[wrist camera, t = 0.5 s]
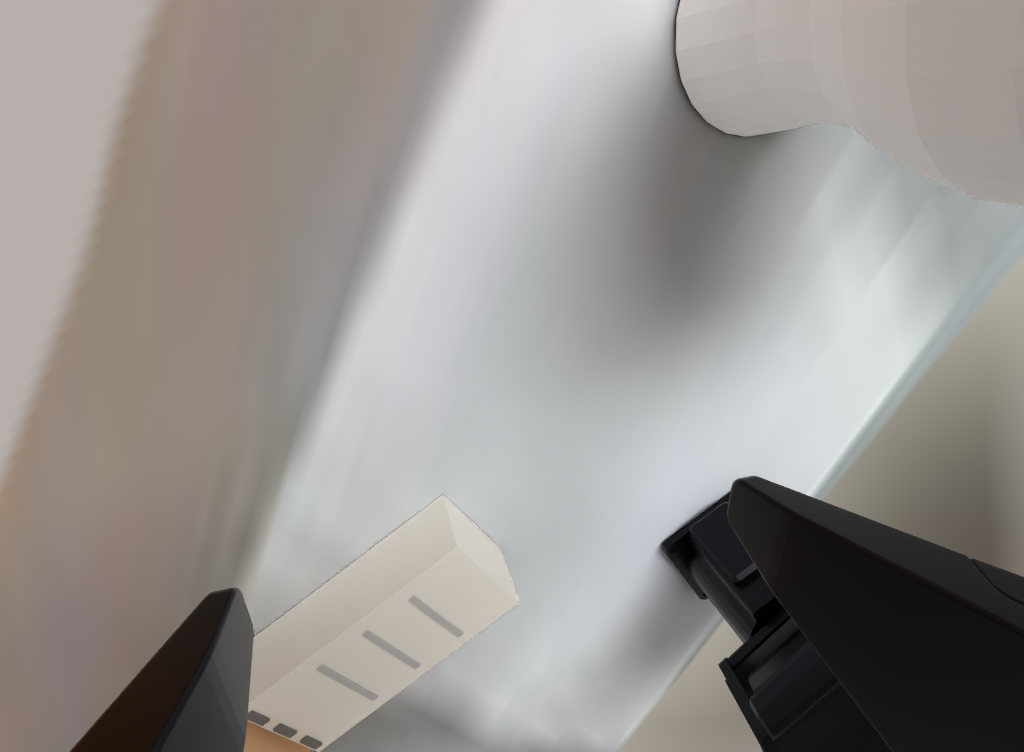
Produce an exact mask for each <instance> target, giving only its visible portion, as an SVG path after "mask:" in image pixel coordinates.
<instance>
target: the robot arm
mask: <svg viewBox="0 0 1024 752" xmlns="http://www.w3.org/2000/svg"><path fill="white" fill-rule="evenodd" d="M663 550H664V552H665V553H666V554H667V556H668V557H669V558H670V560H671V561H672V562H673V564H674V565H675V566H676V567H677V569H678V570H679V571H680V573H681V574H682V575H683V577H684V578H685V579H686V581H687V582H688V583H689V585H690V586H691V587H692V588H693V590H694V591H695V592H696V594H697V595H698V596H699V598H700V599H702V600H705V599H707V598H709V599H710V601H711V602H712V603H713V605H714V606H715V607H716V608H717V610H718V611H719V612H720V614H721V615H722V616H723V617H724V619H725V620H726V621H727V623H728V624H729V625H730V626H731V628H732V629H733V630H734V632H735V633H736V634H737V636H738V637H739V638H740V639H741V641H742V642H743V643H744V644H743V645H742V646H741V647H739V648H738V649H737V650H736V651H735V652H734V653H733V654H732V655H731V656H730V657H729V658H725V659H724V660H723V661H721V662H720V663H719V667H720V669H721V671H722V672H723V674H724V676H725V678H726V680H725V681H726V683H727V685H728V687H729V689H730V691H731V693H732V694H733V696H734V698H735V700H736V702H737V703H738V705H739V707H740V709H741V711H742V713H743V714H744V716H745V718H746V720H747V722H748V724H749V725H750V727H751V729H752V731H753V733H754V735H755V736H756V738H757V740H758V742H759V744H760V746H761V748H762V751H763V752H1024V577H1022V576H1019V575H1017V574H1014V573H1011V572H1008V571H1006V570H1003V569H1000V568H998V567H995V566H992V565H990V564H987V563H984V562H982V561H979V560H976V559H974V558H971V559H969V557H967V556H966V555H963V554H961V553H958V552H955V551H952V550H950V549H947V548H945V547H942V546H939V545H937V544H934V543H931V542H929V541H926V540H924V539H921V538H918V537H916V536H913V535H910V534H908V533H905V532H902V531H900V530H897V529H895V528H892V527H889V526H887V525H884V524H881V523H878V522H876V521H873V520H871V519H868V518H866V517H863V516H860V515H858V514H855V513H852V512H850V511H847V510H844V509H842V508H839V507H836V506H834V505H831V504H828V503H826V502H823V501H821V500H818V499H815V498H813V497H810V496H807V495H805V494H802V493H800V492H797V491H794V490H792V489H789V488H786V487H784V486H781V485H778V484H776V483H773V482H771V481H768V480H765V479H763V478H760V477H757V476H749V477H744V478H739V479H737V480H735V481H734V483H733V484H732V488H731V493H730V494H729V495H728V496H726V497H725V498H724V499H722V500H721V501H719V502H718V503H717V504H715V505H714V506H713V507H711V508H710V509H709V510H707V511H706V512H705V513H703V514H702V515H701V516H699V517H698V518H697V519H695V520H694V521H692V522H691V523H690V524H688V525H687V526H686V527H684V528H683V529H682V530H680V531H679V532H678V533H676V534H675V535H674V536H672V537H671V538H669V539H668V540H667V541H666V542H665V543H664V544H663ZM253 637H254V635H253V625H252V621H251V618H250V615H249V612H248V609H247V607H246V604H245V601H244V598H243V595H242V593H241V591H240V590H239V589H238V588H229V589H224V590H220V591H215V592H212V593H210V594H208V595H207V596H206V597H205V598H204V599H203V600H202V601H201V603H200V604H199V605H198V606H197V607H196V608H195V609H194V611H193V612H192V613H191V614H190V615H189V616H188V617H187V619H186V620H185V621H184V622H183V623H182V624H181V625H180V627H179V628H178V629H177V630H176V631H175V632H174V633H173V635H172V636H171V637H170V638H169V639H168V640H167V641H166V642H165V644H164V645H163V646H162V647H161V648H160V649H159V650H158V652H157V653H156V654H155V655H154V656H153V657H152V658H151V660H150V661H149V662H148V663H147V664H146V665H145V666H144V668H143V669H142V670H141V671H140V672H139V673H138V674H137V676H136V677H135V678H134V679H133V680H132V681H131V682H130V683H129V685H128V686H127V687H126V688H125V689H124V690H123V691H122V693H121V694H120V695H119V696H118V697H117V698H116V699H115V701H114V702H113V703H112V704H111V705H110V706H109V707H108V709H107V710H106V711H105V712H104V713H103V714H102V715H101V717H100V718H99V719H98V720H97V721H96V722H95V723H94V725H93V726H92V727H91V728H90V729H89V730H88V731H87V732H86V734H85V735H84V736H83V737H82V738H81V739H80V740H79V742H78V743H77V744H76V745H75V746H74V747H73V748H72V750H71V751H70V752H244V746H245V740H246V730H247V719H248V705H249V692H250V679H251V665H252V652H253Z"/></svg>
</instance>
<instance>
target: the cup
mask: <svg viewBox="0 0 1024 752" xmlns="http://www.w3.org/2000/svg"><path fill="white" fill-rule="evenodd" d="M676 56H677V61H678V66H679V71H680V76H681V81H682V83H683V86H684V88H685V90H686V92H687V94H688V97H689V99H690V101H691V103H692V105H693V106H694V107H695V109H696V110H697V111H698V112H699V113H700V114H701V116H702V117H703V118H704V119H705V120H706V121H707V123H709V124H711V125H713V126H714V127H716V128H718V129H719V130H721V131H723V132H725V133H728V134H733V135H739V136H745V137H747V136H754V135H760V134H767V133H773V132H779V131H785V130H790V129H794V128H799V127H803V126H807V125H811V124H815V123H820V122H823V123H828V124H834V125H840V126H845V127H851V128H853V129H855V130H856V131H857V132H858V133H859V134H860V135H861V136H863V137H864V138H865V139H866V140H867V141H868V142H869V143H871V144H872V145H873V146H874V147H875V148H876V149H878V150H879V151H881V152H882V153H883V154H885V155H886V156H888V157H889V158H891V159H892V160H894V161H895V162H897V163H898V164H900V165H901V166H903V167H904V168H907V169H909V170H911V171H913V172H915V173H918V174H920V175H922V176H924V177H927V178H929V179H931V180H933V181H936V182H938V183H940V184H942V185H945V186H947V187H949V188H951V189H954V190H956V191H958V192H960V193H962V194H965V195H967V196H969V197H971V198H974V199H981V200H987V201H993V202H1000V203H1006V204H1014V205H1022V206H1024V0H680V4H679V9H678V14H677V18H676Z"/></svg>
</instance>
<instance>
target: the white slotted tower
mask: <svg viewBox="0 0 1024 752" xmlns="http://www.w3.org/2000/svg"><path fill="white" fill-rule="evenodd" d="M519 603H520V599H519V597H518V594H517V591H516V589H515V586H514V583H513V581H512V578H511V575H510V573H509V570H508V567H507V565H506V562H505V559H504V556H503V554H502V551H501V548H500V547H499V546H498V545H497V544H495V543H494V542H493V541H492V540H491V539H490V538H489V537H488V536H487V535H486V534H485V533H484V532H483V531H482V530H481V529H480V528H478V527H477V526H476V525H475V524H474V523H473V522H472V521H471V520H470V519H469V518H468V517H467V516H466V515H465V514H464V513H463V512H461V511H460V510H459V509H458V508H457V507H456V506H455V505H454V504H453V503H452V502H451V501H450V500H449V499H448V498H447V497H446V496H444V495H441V496H440V497H439V498H437V499H436V500H435V501H433V502H432V503H431V504H429V505H428V506H427V507H425V508H424V509H423V510H421V511H420V512H419V513H417V514H416V515H415V516H414V517H412V518H411V519H410V520H408V521H407V522H406V523H404V524H403V525H402V526H400V527H399V528H398V529H396V530H395V531H394V532H392V533H391V534H390V535H388V536H387V537H386V538H384V539H383V540H382V541H380V542H379V543H378V544H376V545H375V546H374V547H373V548H371V549H370V550H369V551H367V552H366V553H365V554H363V555H362V556H361V557H359V558H358V559H357V560H355V561H354V562H353V563H351V564H350V565H349V566H347V567H346V568H345V569H343V570H342V571H341V572H339V573H338V574H337V575H335V576H334V577H333V578H331V579H330V580H329V581H328V582H326V583H325V584H324V585H322V586H321V587H320V588H318V589H317V590H316V591H314V592H313V593H312V594H310V595H309V596H308V597H306V598H305V599H304V600H302V601H301V602H300V603H298V604H297V605H296V606H294V607H293V608H292V609H290V610H289V611H288V612H286V613H285V614H284V615H283V616H281V617H280V618H279V619H277V620H276V621H275V622H273V623H272V624H271V625H269V626H268V627H267V628H265V629H264V630H263V631H261V632H260V633H259V634H257V635H256V636H255V637H253V652H252V665H251V679H250V692H249V705H248V719H247V721H248V722H251V723H253V724H255V725H258V726H260V727H262V728H264V729H267V730H269V731H271V732H273V733H276V734H278V735H280V736H282V737H285V738H287V739H289V740H292V741H294V742H296V743H298V744H301V745H303V746H305V747H307V748H310V749H312V750H314V751H317V752H320V751H321V750H322V749H324V748H325V747H327V746H328V745H329V744H331V743H332V742H333V741H335V740H336V739H337V738H339V737H340V736H341V735H343V734H344V733H345V732H347V731H348V730H349V729H351V728H352V727H353V726H355V725H356V724H357V723H359V722H360V721H361V720H363V719H364V718H366V717H367V716H368V715H370V714H371V713H372V712H374V711H375V710H376V709H378V708H379V707H380V706H382V705H383V704H384V703H386V702H387V701H388V700H390V699H391V698H392V697H394V696H395V695H396V694H398V693H399V692H400V691H402V690H403V689H405V688H406V687H407V686H409V685H410V684H411V683H413V682H414V681H415V680H417V679H418V678H419V677H421V676H422V675H423V674H425V673H426V672H427V671H429V670H430V669H431V668H433V667H434V666H435V665H437V664H438V663H439V662H441V661H442V660H444V659H445V658H446V657H448V656H449V655H450V654H452V653H453V652H454V651H456V650H457V649H458V648H460V647H461V646H462V645H464V644H465V643H466V642H468V641H469V640H470V639H472V638H473V637H474V636H476V635H477V634H478V633H480V632H481V631H483V630H484V629H485V628H487V627H488V626H489V625H491V624H492V623H493V622H495V621H496V620H497V619H499V618H500V617H501V616H503V615H504V614H505V613H507V612H508V611H509V610H511V609H512V608H513V607H515V606H516V605H517V604H519Z"/></svg>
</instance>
